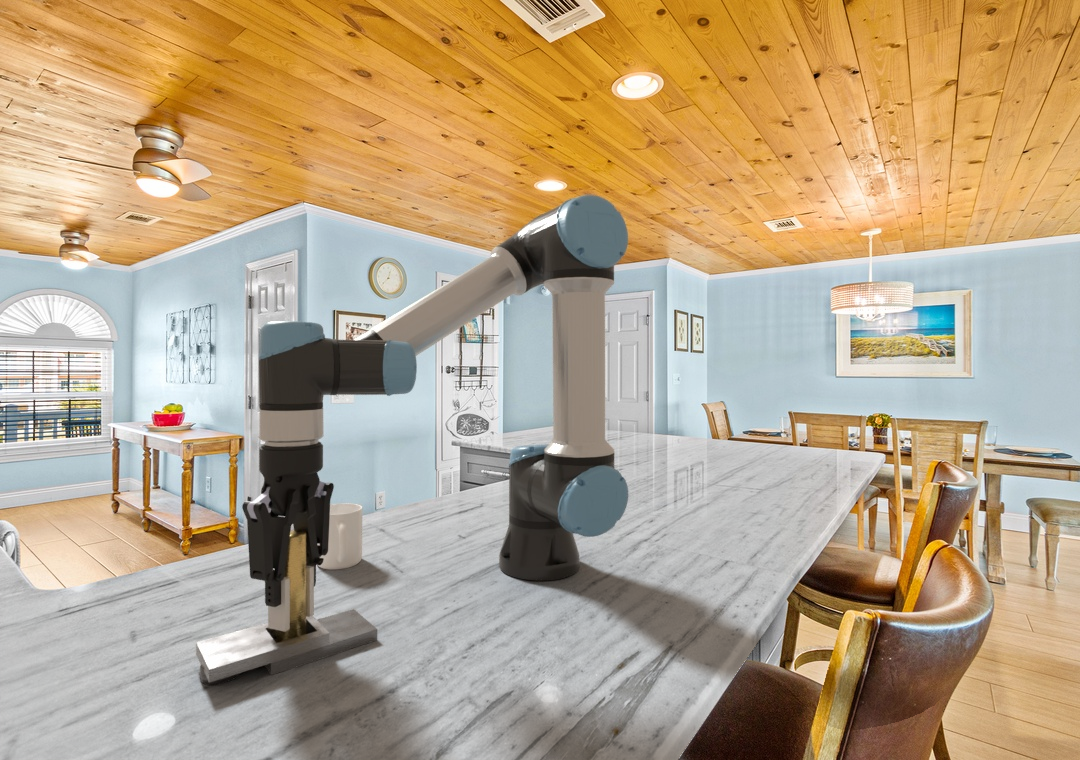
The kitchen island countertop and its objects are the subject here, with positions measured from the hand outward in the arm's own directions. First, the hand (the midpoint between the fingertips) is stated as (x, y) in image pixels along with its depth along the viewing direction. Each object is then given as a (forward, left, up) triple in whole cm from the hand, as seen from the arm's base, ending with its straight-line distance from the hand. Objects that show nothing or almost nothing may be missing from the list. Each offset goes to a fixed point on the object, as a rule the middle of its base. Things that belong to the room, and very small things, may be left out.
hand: (291, 620), depth 72 cm
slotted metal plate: (0, 0, -4) cm, 4 cm away
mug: (+15, -28, -4) cm, 32 cm away
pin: (0, 0, -4) cm, 4 cm away
